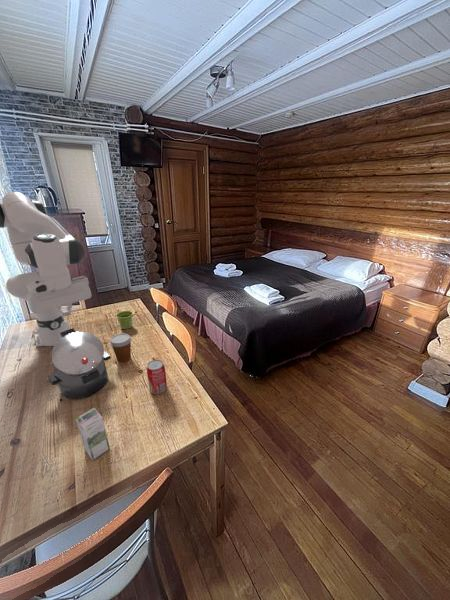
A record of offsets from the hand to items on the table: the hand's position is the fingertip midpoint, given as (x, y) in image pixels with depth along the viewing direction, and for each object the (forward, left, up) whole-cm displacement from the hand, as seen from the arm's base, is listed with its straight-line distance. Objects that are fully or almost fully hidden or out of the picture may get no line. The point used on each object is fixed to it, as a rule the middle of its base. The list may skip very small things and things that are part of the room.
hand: (66, 315), depth 97 cm
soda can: (+27, +19, -33) cm, 47 cm away
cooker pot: (+1, 0, -33) cm, 33 cm away
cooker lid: (+2, 0, -16) cm, 16 cm away
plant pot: (-31, +37, -33) cm, 58 cm away
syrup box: (+35, -10, -33) cm, 49 cm away
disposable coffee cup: (-3, +20, -33) cm, 39 cm away
